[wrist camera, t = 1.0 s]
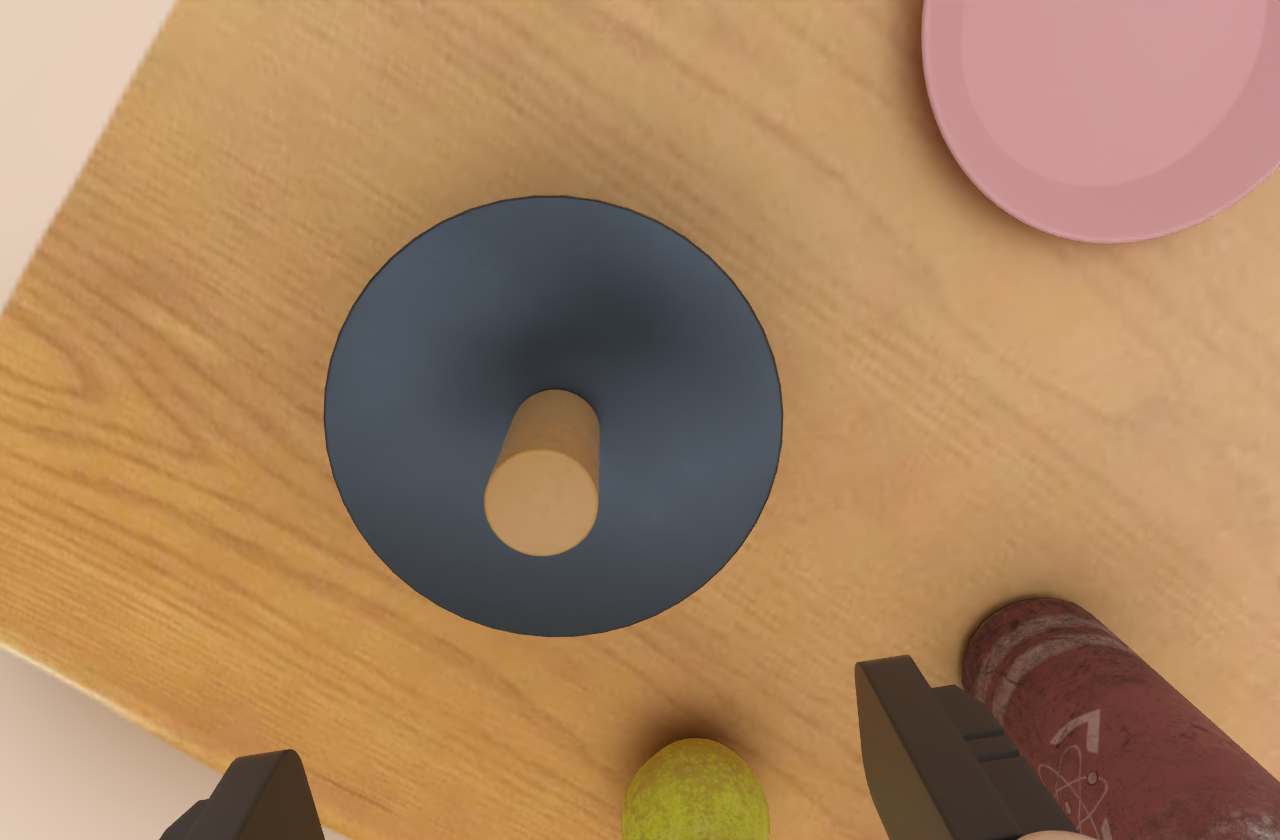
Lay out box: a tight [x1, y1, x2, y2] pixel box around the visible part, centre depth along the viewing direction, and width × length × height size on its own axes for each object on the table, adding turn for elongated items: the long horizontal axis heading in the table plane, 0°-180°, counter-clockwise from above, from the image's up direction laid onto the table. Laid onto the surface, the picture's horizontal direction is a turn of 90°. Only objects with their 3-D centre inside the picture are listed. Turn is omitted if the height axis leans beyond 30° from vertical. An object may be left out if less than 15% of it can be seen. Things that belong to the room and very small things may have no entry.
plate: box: [921, 0, 1280, 244], centre depth 29 cm, size 14×14×2 cm
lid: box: [324, 195, 783, 637], centre depth 21 cm, size 12×12×7 cm
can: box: [962, 598, 1280, 840], centre depth 30 cm, size 6×6×14 cm
